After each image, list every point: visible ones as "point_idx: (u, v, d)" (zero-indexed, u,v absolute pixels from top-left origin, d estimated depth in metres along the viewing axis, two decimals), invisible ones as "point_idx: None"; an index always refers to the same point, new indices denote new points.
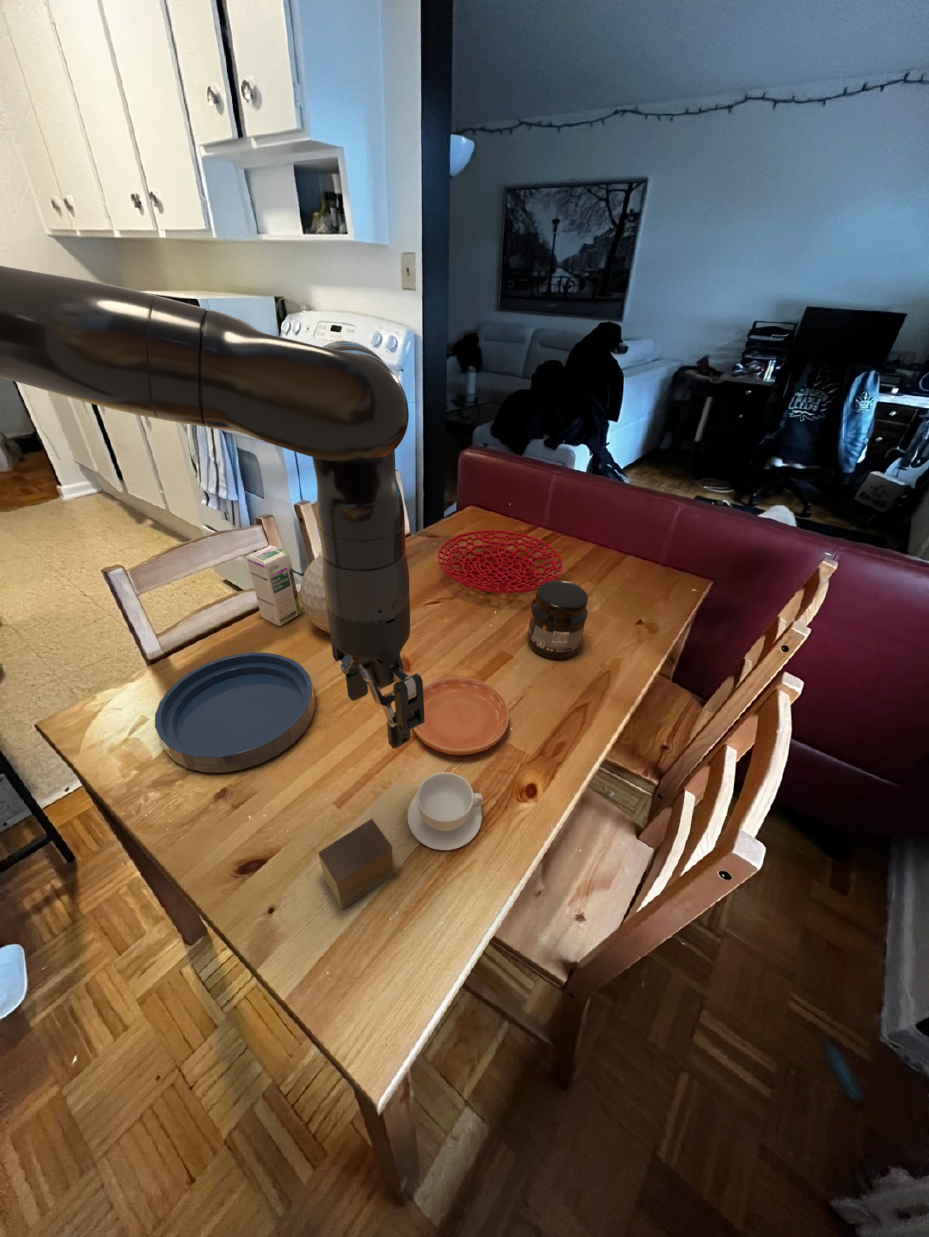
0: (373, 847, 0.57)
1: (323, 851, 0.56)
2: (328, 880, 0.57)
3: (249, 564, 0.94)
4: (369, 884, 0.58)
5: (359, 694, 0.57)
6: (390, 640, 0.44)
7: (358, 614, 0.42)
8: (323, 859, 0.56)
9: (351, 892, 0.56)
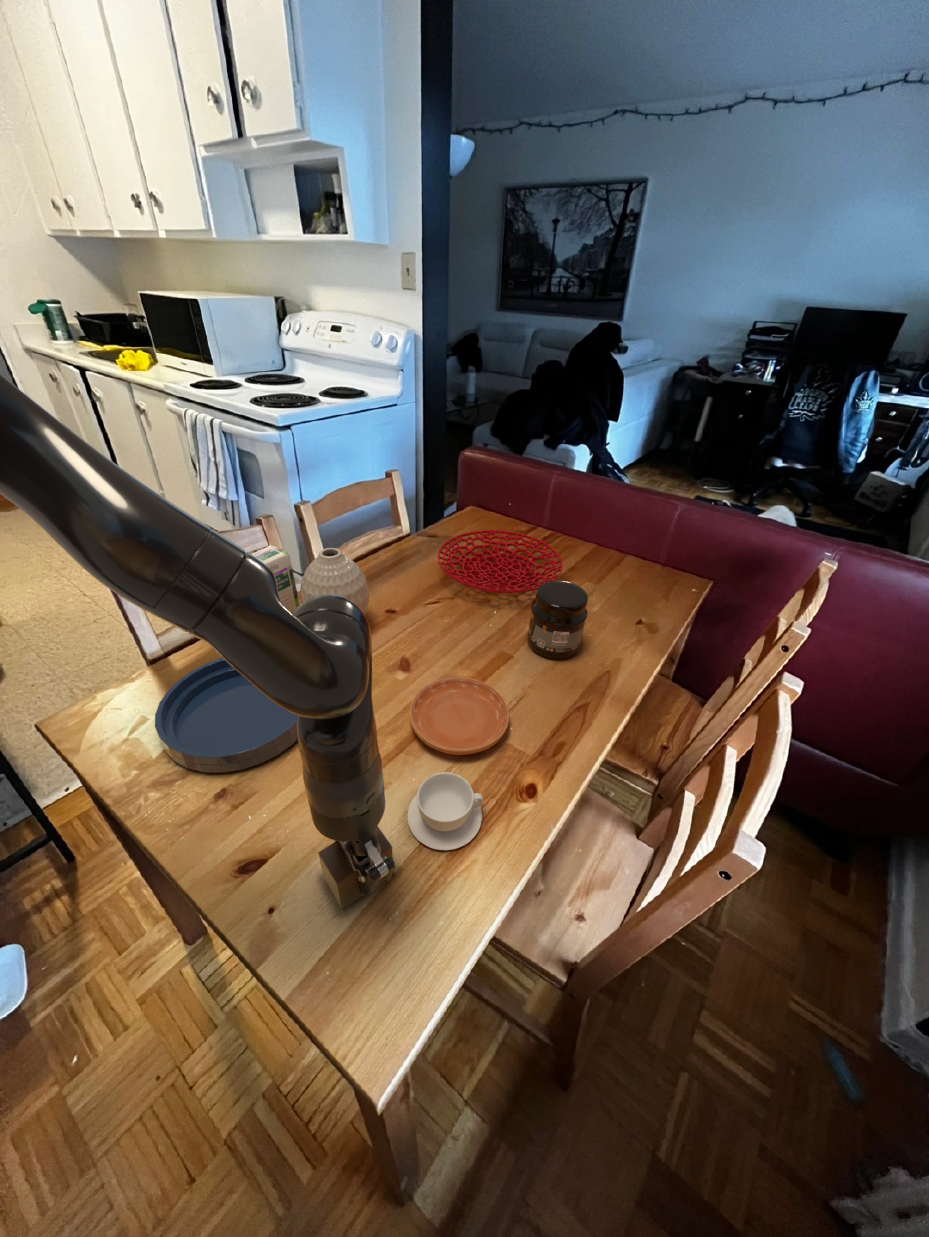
0: None
1: (323, 851, 0.56)
2: (328, 880, 0.57)
3: None
4: None
5: None
6: (365, 826, 0.49)
7: (334, 813, 0.46)
8: (323, 859, 0.56)
9: (351, 892, 0.56)
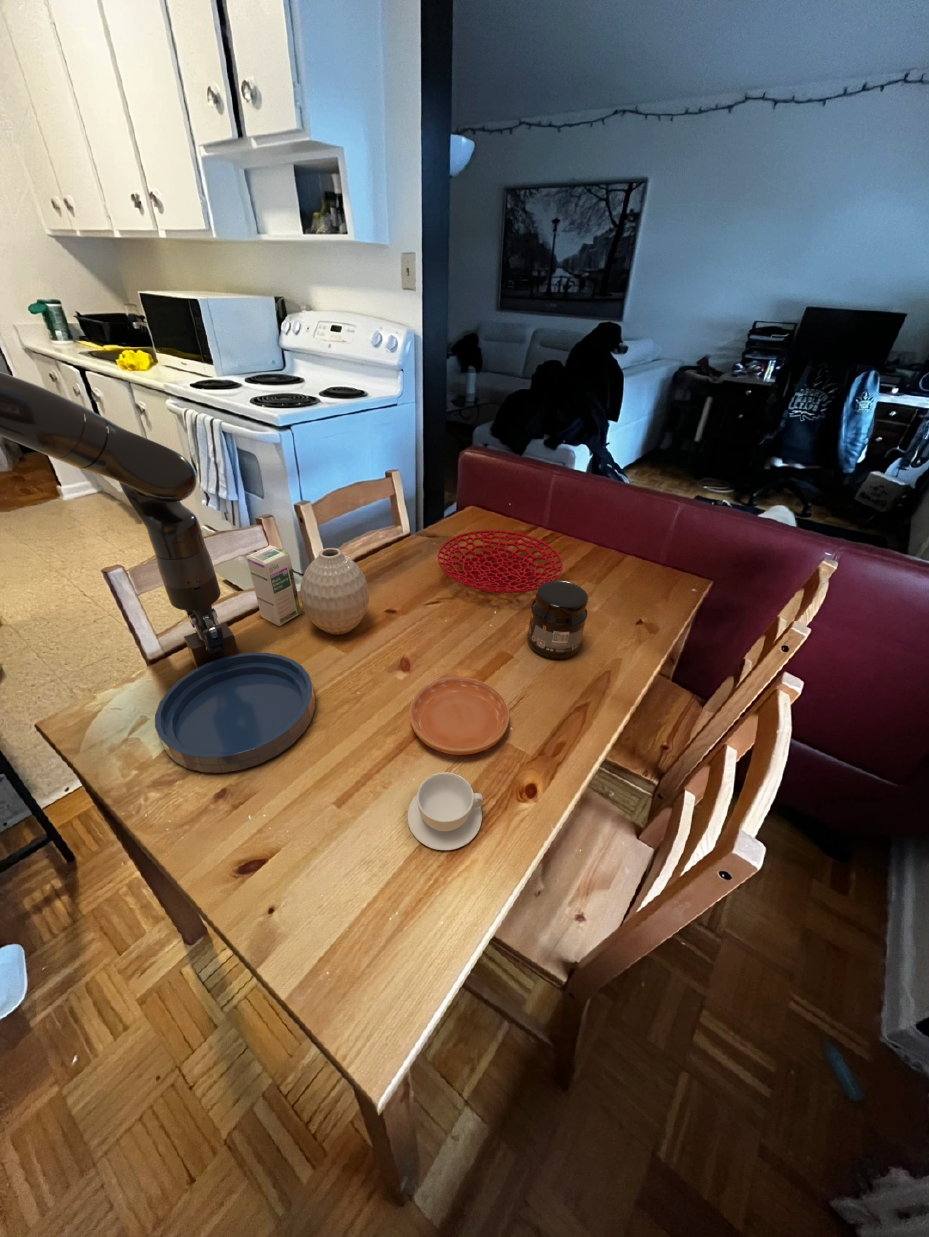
0: None
1: (187, 636, 0.86)
2: (192, 657, 0.87)
3: (249, 564, 0.94)
4: None
5: None
6: (199, 599, 0.78)
7: (175, 584, 0.76)
8: (186, 639, 0.85)
9: (205, 662, 0.86)
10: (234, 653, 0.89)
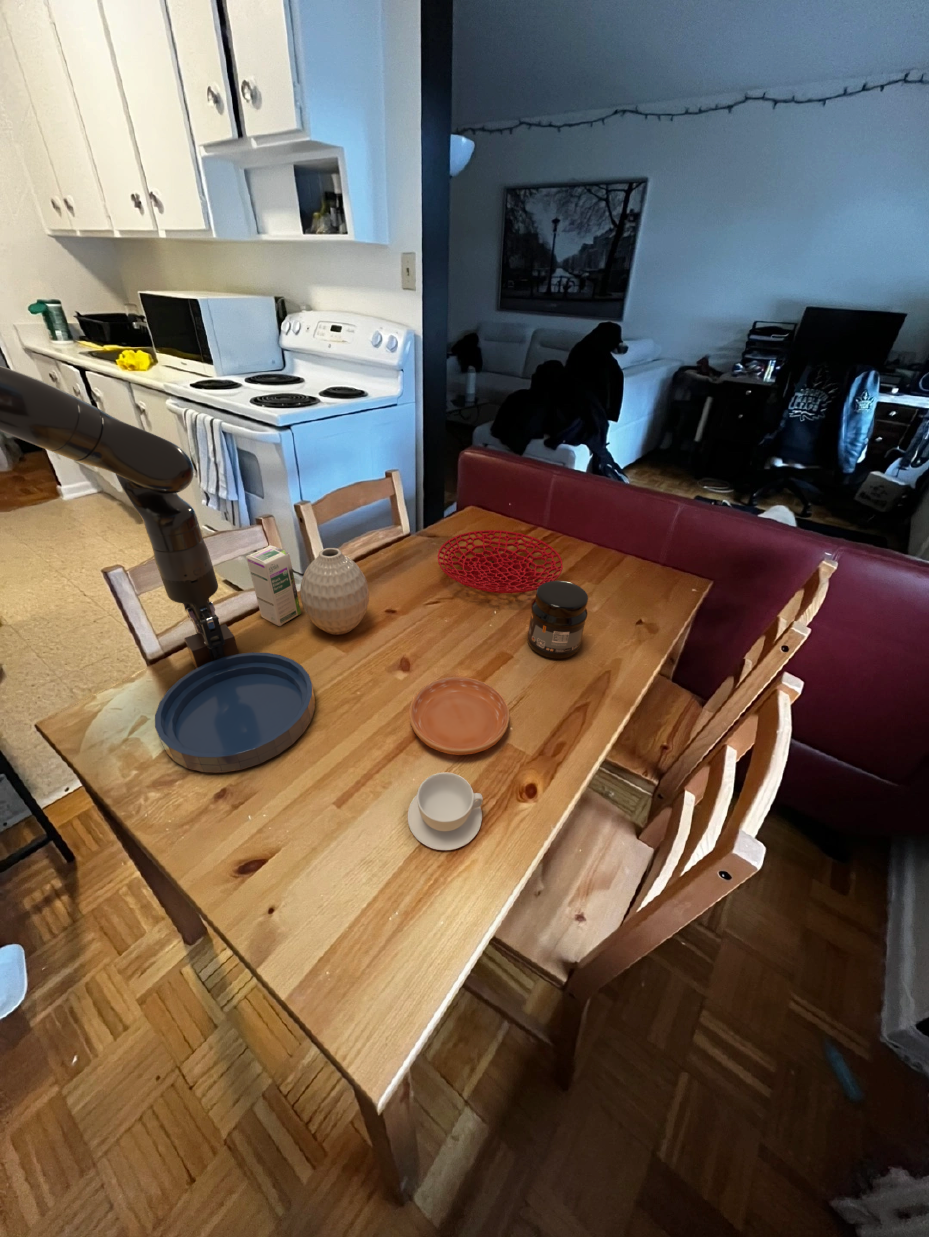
0: None
1: (187, 637, 0.86)
2: (192, 659, 0.87)
3: (249, 564, 0.94)
4: None
5: None
6: (197, 593, 0.78)
7: (172, 577, 0.75)
8: (186, 641, 0.85)
9: None
10: (234, 654, 0.89)
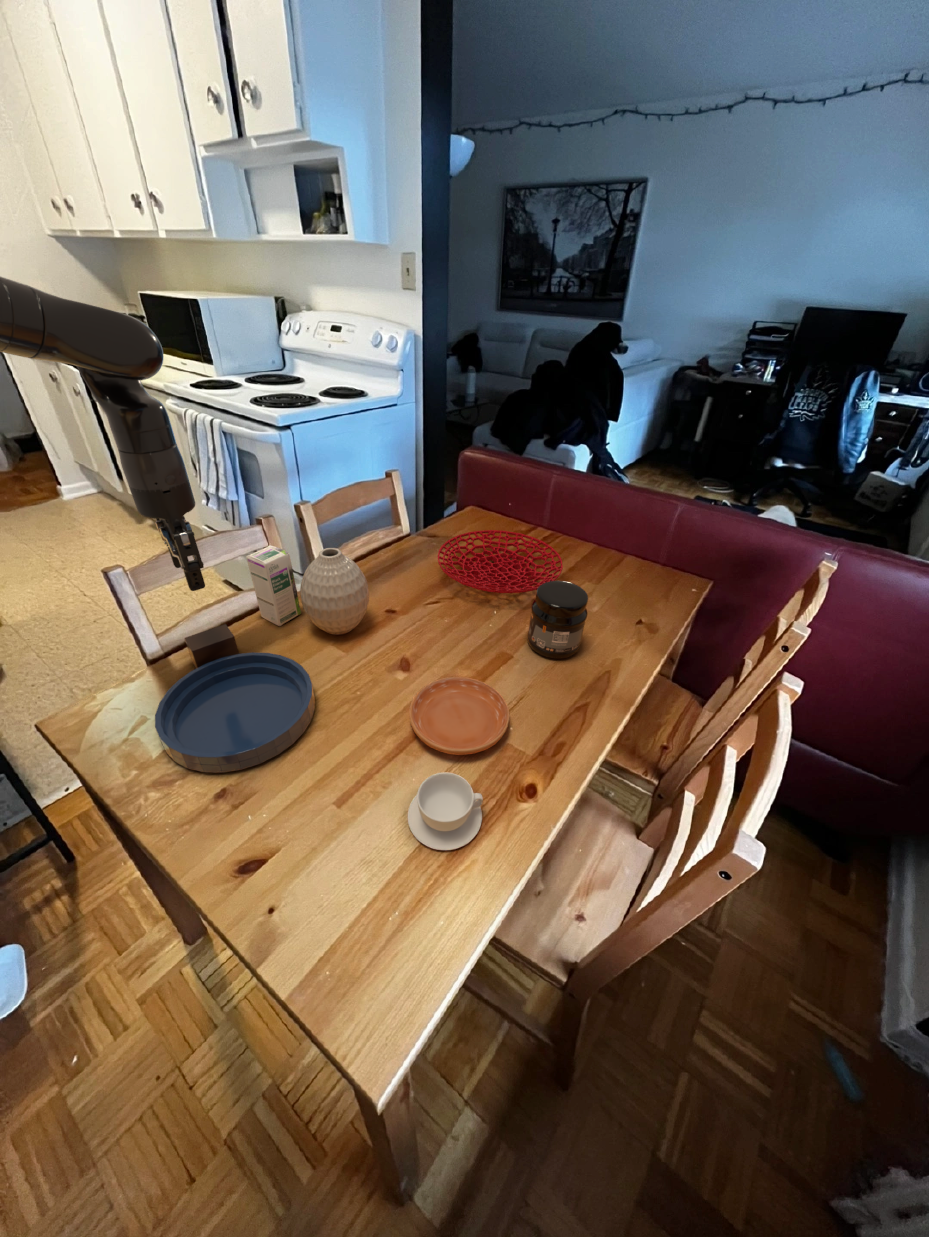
0: (221, 636, 0.87)
1: (187, 637, 0.86)
2: (192, 659, 0.87)
3: (249, 564, 0.94)
4: None
5: (181, 563, 0.82)
6: (170, 506, 0.69)
7: (141, 484, 0.67)
8: (186, 641, 0.85)
9: None
10: (234, 654, 0.89)
